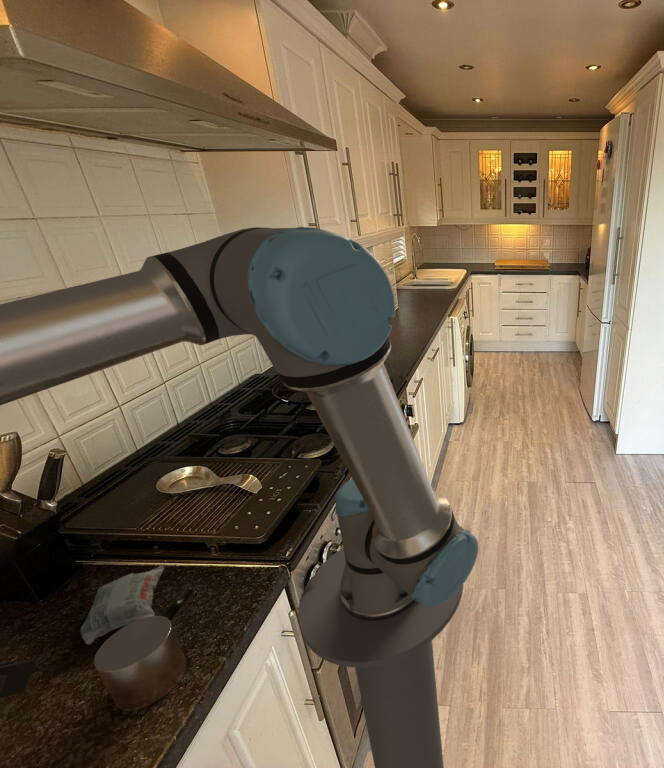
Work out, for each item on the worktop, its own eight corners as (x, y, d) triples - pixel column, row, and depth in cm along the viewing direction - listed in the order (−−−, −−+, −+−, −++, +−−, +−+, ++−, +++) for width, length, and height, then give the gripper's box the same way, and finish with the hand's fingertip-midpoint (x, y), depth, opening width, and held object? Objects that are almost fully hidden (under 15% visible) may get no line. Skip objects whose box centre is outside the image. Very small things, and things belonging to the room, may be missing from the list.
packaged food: (168, 576, 76) (159, 556, 74) (157, 627, 66) (146, 605, 65) (106, 597, 72) (95, 576, 70) (84, 654, 62) (71, 632, 60)
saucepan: (225, 613, 69) (213, 577, 66) (160, 709, 55) (141, 669, 52) (176, 615, 69) (161, 579, 66) (98, 712, 55) (76, 673, 52)
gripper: (-747, 918, 18) (-80, 725, 40) (-391, 892, 19) (75, 717, 41) (-578, 714, 21) (-42, 637, 43) (-276, 698, 22) (102, 630, 44)
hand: (15, 676), depth 42 cm, fingers closed
